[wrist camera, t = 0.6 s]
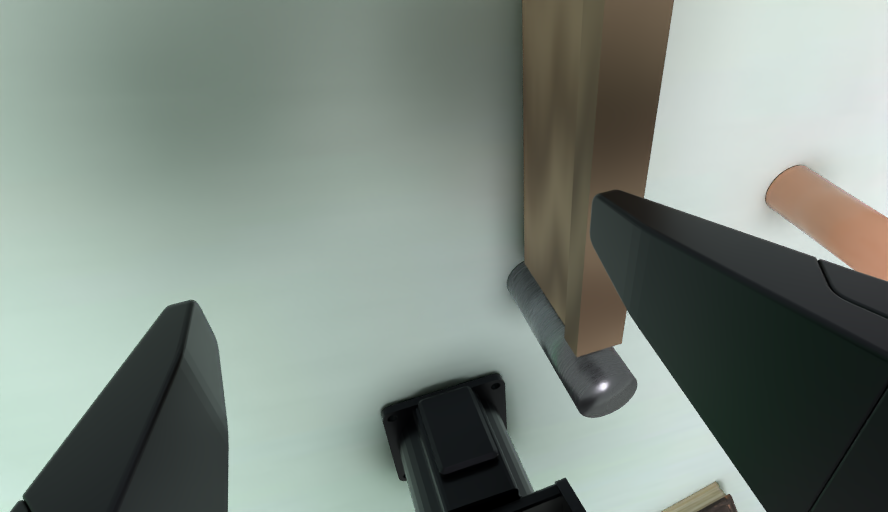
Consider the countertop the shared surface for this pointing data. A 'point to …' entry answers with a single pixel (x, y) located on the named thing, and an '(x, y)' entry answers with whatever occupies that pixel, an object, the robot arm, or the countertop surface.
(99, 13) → the countertop surface
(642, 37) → the brown long plank slab
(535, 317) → the hinge post
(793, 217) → the catch post
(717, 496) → the hardcover book
